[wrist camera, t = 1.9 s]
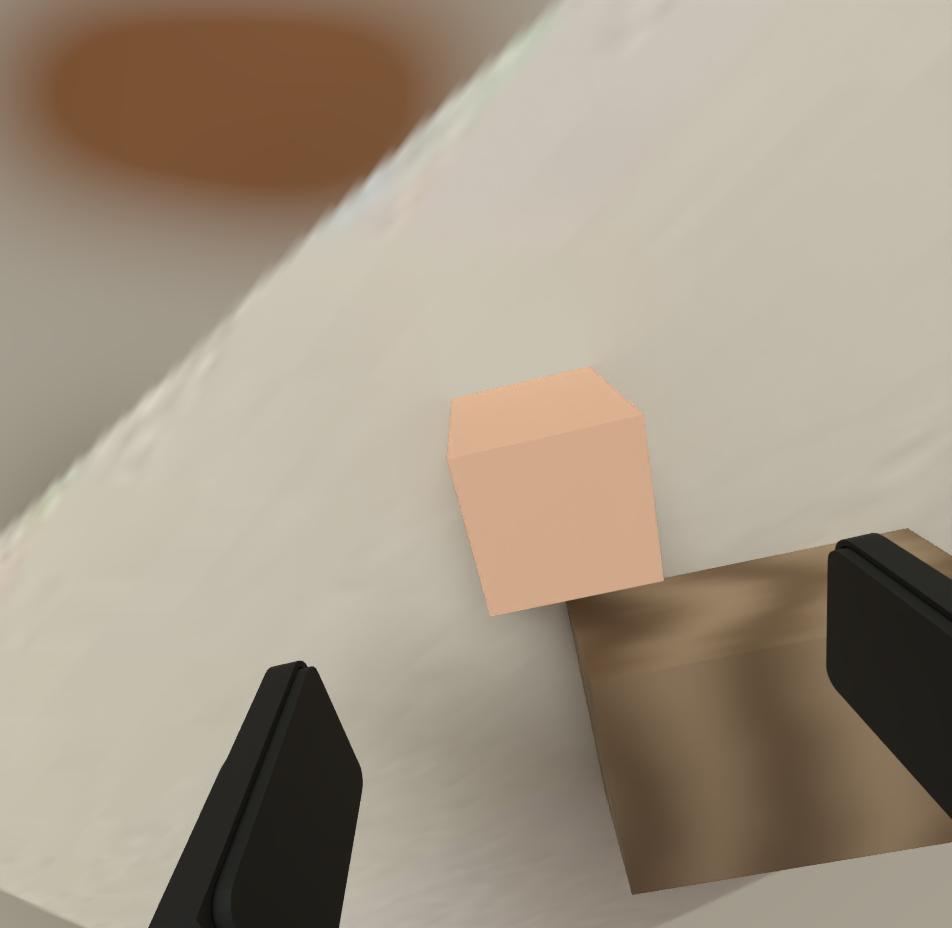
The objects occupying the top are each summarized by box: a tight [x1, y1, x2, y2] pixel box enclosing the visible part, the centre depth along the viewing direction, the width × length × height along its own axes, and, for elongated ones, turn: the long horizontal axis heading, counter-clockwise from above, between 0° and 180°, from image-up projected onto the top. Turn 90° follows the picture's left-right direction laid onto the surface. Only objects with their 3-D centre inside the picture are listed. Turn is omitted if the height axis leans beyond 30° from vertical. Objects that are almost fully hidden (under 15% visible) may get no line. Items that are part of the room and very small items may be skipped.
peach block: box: [447, 366, 664, 617], centre depth 17 cm, size 5×5×6 cm
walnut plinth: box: [566, 528, 952, 895], centre depth 22 cm, size 14×12×5 cm
